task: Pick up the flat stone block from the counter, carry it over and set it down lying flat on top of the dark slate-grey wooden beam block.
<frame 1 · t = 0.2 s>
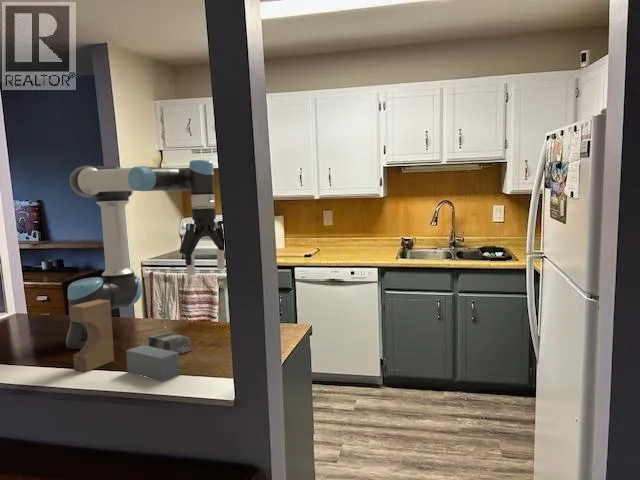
hand: (206, 272, 162), 27 cm above the countertop, tool pointing down, fingers open, 13 cm apart
stone block: (171, 351, 168), on the countertop
decorative block: (94, 366, 154), on the countertop
beam block: (153, 374, 145), on the countertop
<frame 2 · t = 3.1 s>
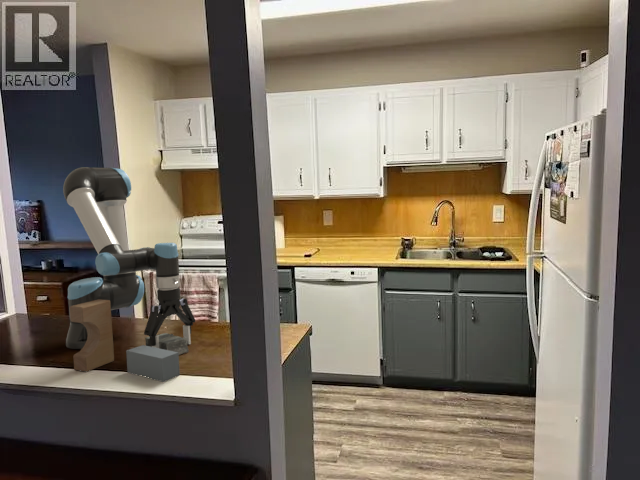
hand: (172, 349, 168), 0 cm above the countertop, tool pointing down, fingers open, 13 cm apart
stone block: (168, 352, 167), on the countertop, touching gripper
everything else where it was.
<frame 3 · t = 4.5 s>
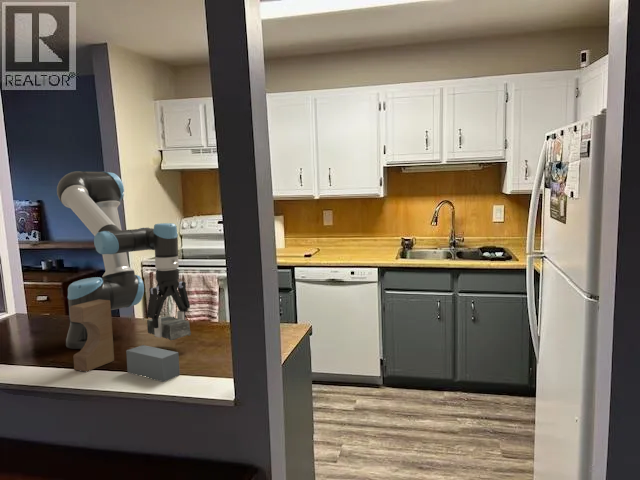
hand: (170, 333, 168), 6 cm above the countertop, tool pointing down, fingers closed on stone block, 9 cm apart
stone block: (170, 334, 168), point 5 cm above the countertop, touching gripper
everything else where it was.
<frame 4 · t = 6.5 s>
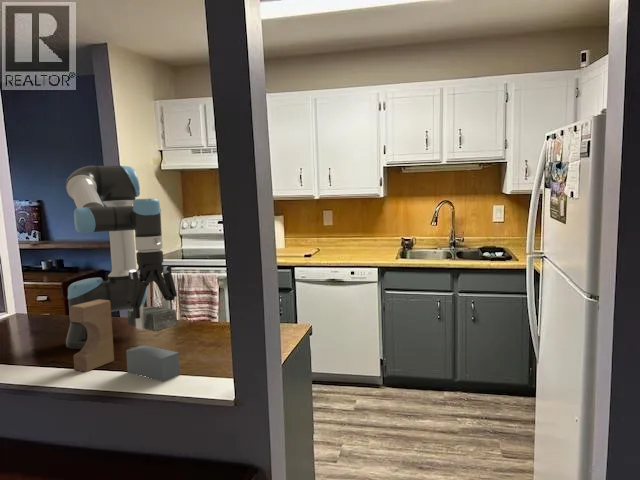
hand: (154, 324, 147), 14 cm above the countertop, tool pointing down, fingers closed on stone block, 9 cm apart
stone block: (154, 326, 147), point 14 cm above the countertop, touching gripper
everything else where it was.
when the fingers open (7 cm above the countertop, at t = 8.9 s): stone block stays where it is, resting on beam block.
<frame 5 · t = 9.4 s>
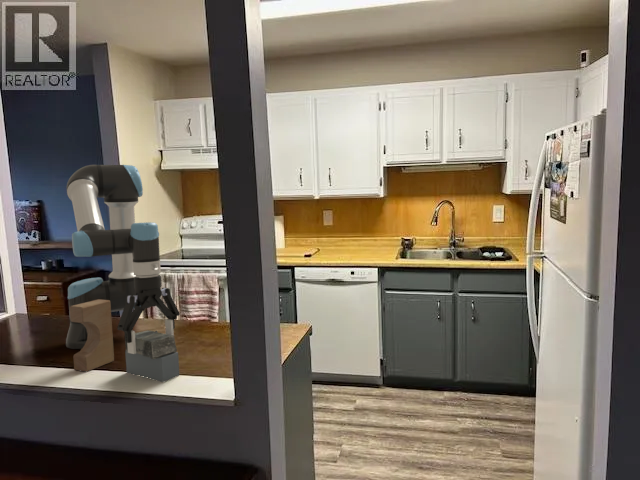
hand: (151, 346, 144), 8 cm above the countertop, tool pointing down, fingers open, 13 cm apart
stone block: (152, 352, 144), point 7 cm above the countertop, touching beam block
beam block: (152, 374, 145), on the countertop, touching stone block
everything else where it was.
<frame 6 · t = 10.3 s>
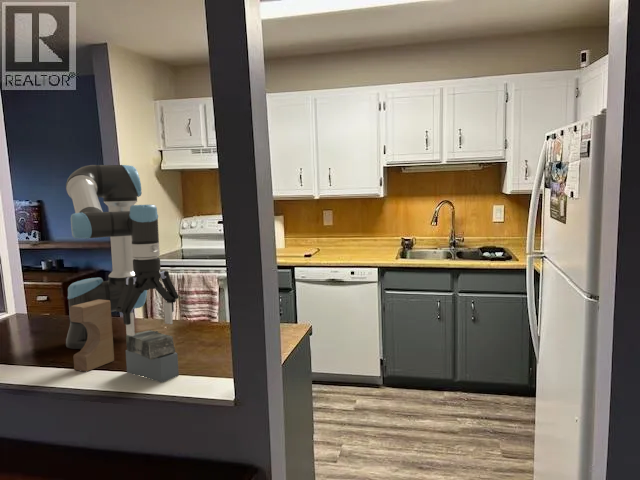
hand: (150, 329, 144), 13 cm above the countertop, tool pointing down, fingers open, 13 cm apart
nothing on the countertop moved.
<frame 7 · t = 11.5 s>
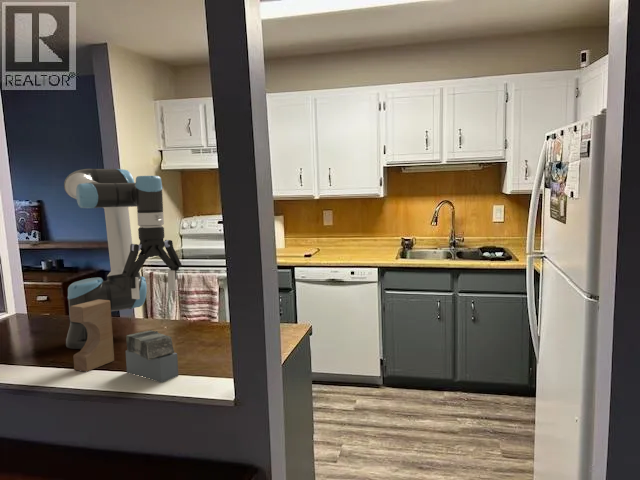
hand: (154, 294, 152), 22 cm above the countertop, tool pointing down, fingers open, 13 cm apart
nothing on the countertop moved.
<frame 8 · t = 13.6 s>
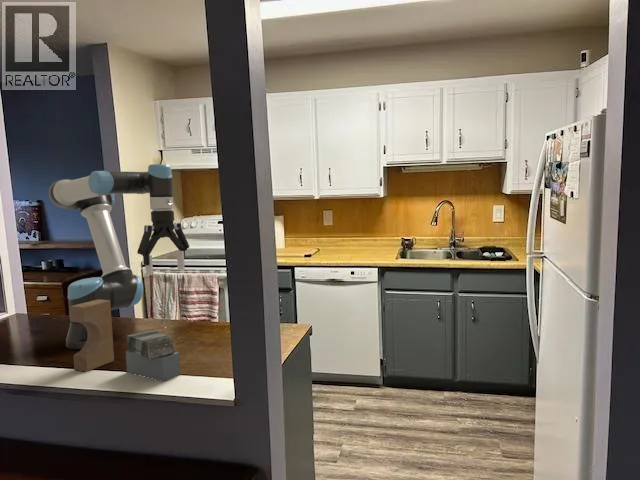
hand: (165, 271, 168), 27 cm above the countertop, tool pointing down, fingers open, 13 cm apart
nothing on the countertop moved.
at the end: stone block inside the target area on the beam block (0.0 cm from its centre), point 6.8 cm above the beam block's base; stone block tilted 0°; the gripper is holding nothing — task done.
